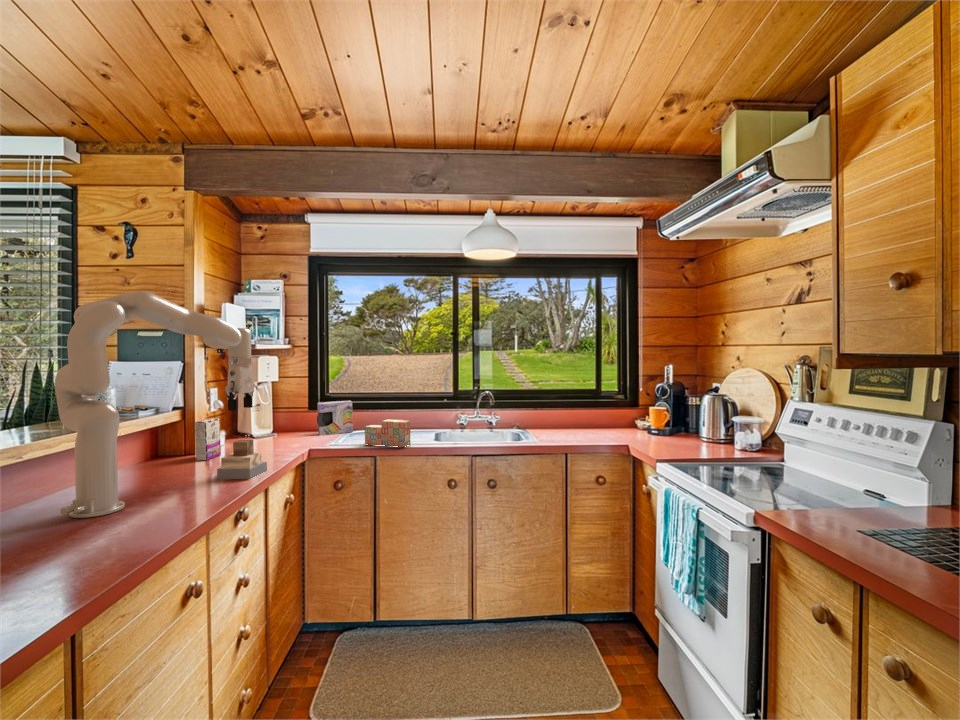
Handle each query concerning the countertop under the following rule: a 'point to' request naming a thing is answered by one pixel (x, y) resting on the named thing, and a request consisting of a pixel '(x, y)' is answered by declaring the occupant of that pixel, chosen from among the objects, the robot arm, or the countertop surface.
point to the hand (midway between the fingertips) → (240, 409)
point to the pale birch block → (240, 461)
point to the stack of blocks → (389, 433)
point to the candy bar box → (207, 439)
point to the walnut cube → (243, 447)
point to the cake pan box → (335, 417)
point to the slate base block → (242, 472)
